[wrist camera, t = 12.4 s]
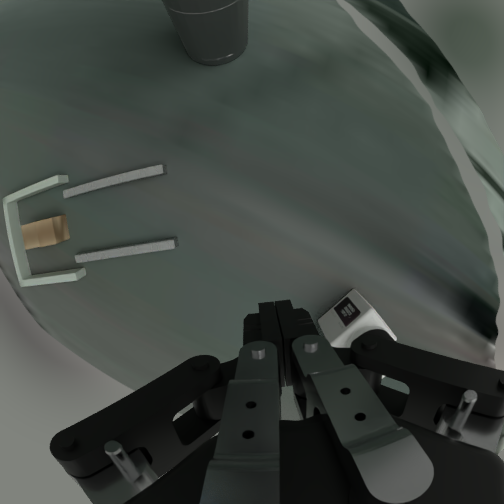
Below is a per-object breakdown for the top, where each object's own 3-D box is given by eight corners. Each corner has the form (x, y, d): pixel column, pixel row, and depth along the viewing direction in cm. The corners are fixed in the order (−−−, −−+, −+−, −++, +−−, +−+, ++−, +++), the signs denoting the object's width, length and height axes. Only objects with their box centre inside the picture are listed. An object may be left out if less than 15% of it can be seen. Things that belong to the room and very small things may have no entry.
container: (316, 320, 42) (339, 369, 29) (353, 287, 41) (391, 326, 28) (343, 347, 43) (369, 396, 31) (377, 317, 42) (415, 359, 29)
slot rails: (69, 190, 36) (62, 190, 34) (166, 165, 36) (162, 164, 34) (82, 259, 39) (76, 263, 37) (178, 245, 39) (175, 248, 37)
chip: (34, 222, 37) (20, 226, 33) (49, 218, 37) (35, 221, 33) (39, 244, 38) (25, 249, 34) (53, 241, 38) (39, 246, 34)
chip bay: (12, 196, 36) (2, 198, 33) (68, 174, 36) (57, 175, 33) (29, 281, 40) (20, 286, 37) (86, 274, 39) (77, 280, 36)
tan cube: (49, 218, 37) (35, 222, 33) (65, 214, 37) (51, 217, 33) (53, 242, 38) (40, 247, 34) (70, 238, 38) (56, 243, 34)
